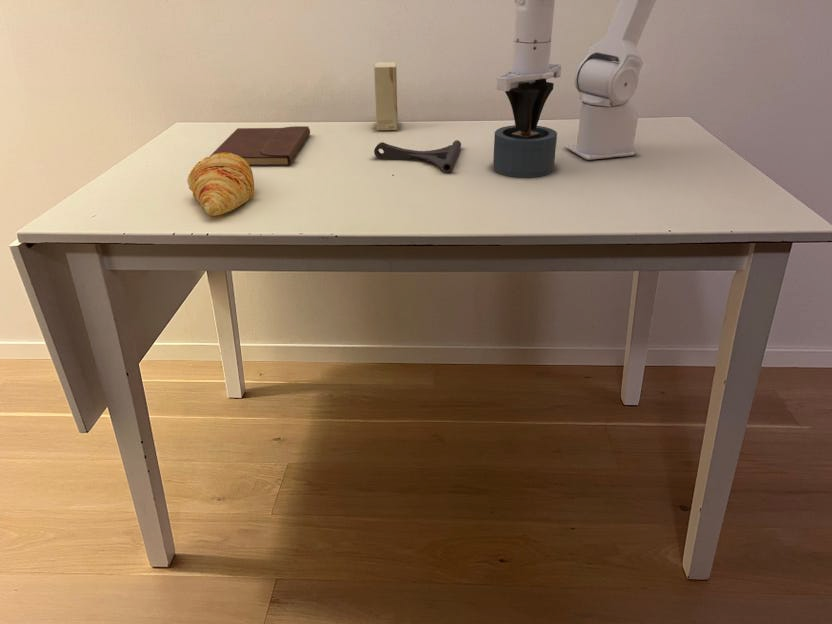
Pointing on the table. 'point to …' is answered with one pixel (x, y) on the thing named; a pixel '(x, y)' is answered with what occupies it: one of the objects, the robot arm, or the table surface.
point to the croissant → (221, 182)
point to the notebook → (266, 144)
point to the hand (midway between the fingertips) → (525, 129)
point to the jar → (524, 152)
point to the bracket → (421, 154)
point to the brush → (526, 134)
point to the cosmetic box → (386, 95)
